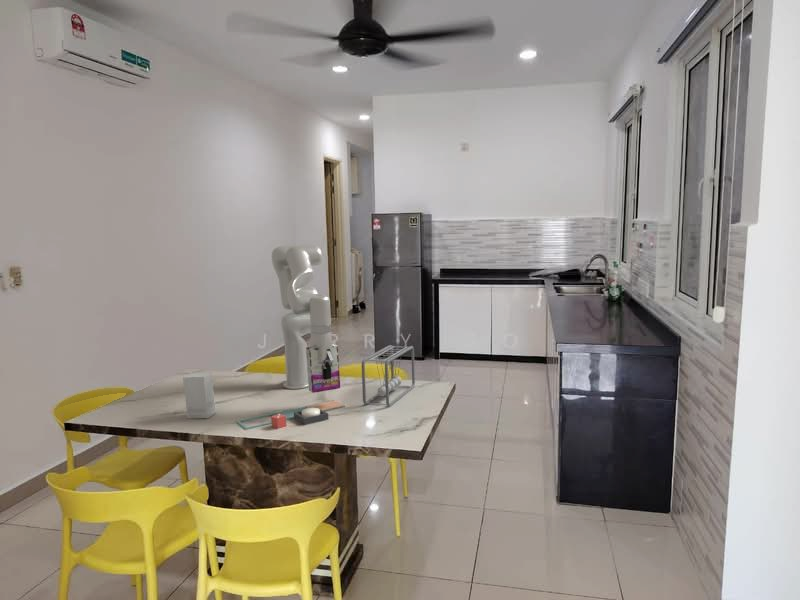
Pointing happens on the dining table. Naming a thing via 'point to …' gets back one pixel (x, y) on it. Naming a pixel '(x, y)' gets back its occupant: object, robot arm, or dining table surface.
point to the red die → (278, 421)
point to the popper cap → (310, 412)
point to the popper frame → (312, 419)
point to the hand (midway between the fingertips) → (323, 377)
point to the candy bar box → (321, 371)
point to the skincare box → (199, 395)
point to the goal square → (326, 405)
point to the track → (287, 413)
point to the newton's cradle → (394, 380)
